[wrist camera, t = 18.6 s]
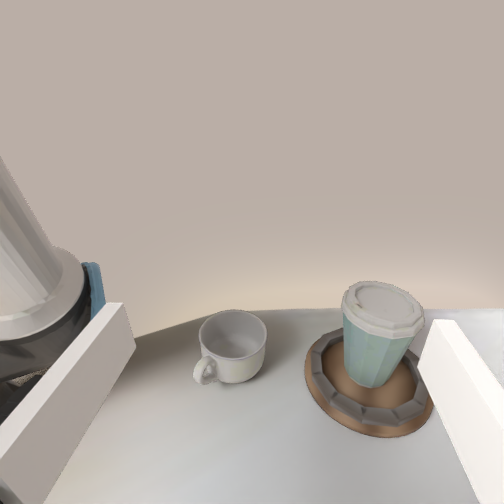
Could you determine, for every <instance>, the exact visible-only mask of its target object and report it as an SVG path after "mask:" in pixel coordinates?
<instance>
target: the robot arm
mask: <svg viewBox="0 0 504 504" xmlns="http://www.w3.org/2000/svg"><path fill="white" fill-rule="evenodd" d="M135 349H136V344H135V341H134V337H133V334H132V331H131V327H130V324H129V321H128V318H127V314H126V311H125V308H124V304H123V303H113V302H107V303H106V302H105V297H104V290H103V284H102V279H101V273H100V267H99V265H98V264H97V263H93V262H92V263H87V262H84V263H81V264H80V263H79V261H78V260H77V258H76V257H75V256H73V255H72V254H71V253H70V252H68V251H66V250H64V249H61V248H59V247H55V246H52V244H51V242H50V241H49V239H48V237H47V236H46V234H45V232H44V230H43V229H42V227H41V225H40V224H39V222H38V220H37V218H36V217H35V215H34V213H33V212H32V210H31V208H30V206H29V205H28V203H27V201H26V200H25V198H24V196H23V194H22V193H21V191H20V189H19V188H18V186H17V184H16V183H15V181H14V179H13V177H12V176H11V174H10V172H9V171H8V169H7V168H6V166H5V164H4V162H3V160H2V159H1V157H0V504H43V503H44V501H45V499H46V497H47V496H48V494H49V492H50V491H51V489H52V487H53V486H54V484H55V482H56V481H57V479H58V477H59V476H60V474H61V472H62V471H63V469H64V467H65V466H66V464H67V462H68V461H69V459H70V457H71V456H72V454H73V452H74V451H75V449H76V447H77V446H78V444H79V442H80V441H81V439H82V437H83V436H84V434H85V432H86V431H87V429H88V427H89V426H90V424H91V422H92V421H93V419H94V417H95V416H96V414H97V412H98V411H99V409H100V407H101V406H102V404H103V402H104V401H105V399H106V397H107V396H108V394H109V392H110V391H111V389H112V387H113V386H114V384H115V382H116V381H117V379H118V377H119V376H120V374H121V372H122V371H123V369H124V367H125V366H126V364H127V362H128V361H129V359H130V357H131V356H132V354H133V352H134V351H135ZM49 367H51V368H50V369H49V370H48V371H47V372H46V374H45V375H44V376H42V375H35V376H34V377H32V378H31V379H30V380H28V381H27V382H26V383H24V384H23V385H20V384H19V383H17V382H15V381H13V380H12V379H15V378H18V377H21V376H24V375H27V374H30V373H33V372H37V371H40V370H43V369H46V368H49ZM417 368H418V370H419V372H420V374H421V376H422V379H423V381H424V383H425V385H426V387H427V390H428V392H429V394H430V396H431V398H432V400H433V403H434V405H435V407H436V409H437V411H438V414H439V416H440V418H441V420H442V422H443V424H444V427H445V429H446V431H447V433H448V435H449V438H450V440H451V442H452V444H453V446H454V449H455V451H456V453H457V455H458V457H459V459H460V462H461V464H462V466H463V468H464V470H465V473H466V475H467V477H468V479H469V481H470V483H471V486H472V488H473V490H474V492H475V494H476V497H477V499H478V501H479V503H480V504H504V389H503V388H502V386H501V385H500V384H499V382H498V381H497V379H496V378H495V377H494V375H493V374H492V372H491V371H490V370H489V368H488V367H487V365H486V364H485V363H484V361H483V360H482V358H481V357H480V356H479V354H478V353H477V351H476V350H475V349H474V347H473V346H472V344H471V343H470V342H469V340H468V339H467V337H466V336H465V335H464V333H463V332H462V330H461V329H460V327H459V326H458V325H457V323H456V322H455V320H442V319H434V320H433V322H432V325H431V328H430V331H429V334H428V337H427V340H426V343H425V346H424V348H423V351H422V354H421V357H420V360H419V363H418V366H417Z"/></svg>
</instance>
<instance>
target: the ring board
mask: <svg viewBox="0 0 504 504" xmlns="http://www.w3.org/2000/svg"><path fill="white" fill-rule="evenodd" d="M419 360H420V359H419V358H418V357H417V356H416V355H414V354H413V353H412V352H411V351H410V350H409V349H407V350H406V352H405V354H404V355H403V357H402V358H401V360H400V362H399V363H398V365H397V367H396V368H395V370H394V372H393V373H392V375H391V376H390V378H389V379H388V380H387V381H386V382H385V383H384V385H382V386H381V387H376V388H367V387H364V386H360V385H358V384H357V383H356V382H354V381H353V380H352V379H350V377H349V375H348V373H347V371H346V369H345V367H344V332H343V328H341V329H338V330H335V331H332V332H330V333H327V334H324V335H323V336H322V337H321V338H320V339H319V340H317V341H316V342H315V343H314V344H313V345H312V346H311V348H310V350H309V351H308V354H307V356H306V361H305V379H306V383H307V386H308V388H309V391H310V393H311V394H312V396H313V398H314V399H315V401H316V402H317V403H318V405H319V406H320V407H321V408H322V409H323V410H324V411H325V412H326V413H327V414H328V415H329V416H330V417H332V418H333V419H334V420H336V421H337V422H339V423H340V424H342V425H344V426H345V427H347V428H349V429H351V430H354V431H356V432H359V433H361V434H365V435H368V436H373V437H379V438H395V437H401V436H405V435H408V434H410V433H413V432H415V431H416V430H418V429H419V428H421V427H422V426H423V425H424V424H425V422H426V421H427V419H428V418H429V416H430V414H431V411H432V408H433V405H434V403H433V400H432V398H431V396H430V394H429V392H428V390H427V387H426V385H425V383H424V381H423V379H422V376H421V374H420V372H419V370H418V368H417V366H418V363H419Z"/></svg>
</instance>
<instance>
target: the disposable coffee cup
mask: <svg viewBox="0 0 504 504" xmlns="http://www.w3.org/2000/svg"><path fill="white" fill-rule="evenodd" d="M341 309H342V311H343V332H344V367H345V369H346V371H347V373H348V375H349V377H350V379H352V380H353V381H354V382H356V383H357V384H358V385H360V386H364V387H367V388H376V387H381V386H382V385H384V383H385V382H386V381H387V380H388V379H389V378H390V376H391V375H392V373H393V372H394V370H395V368H396V367H397V365H398V363H399V362H400V360H401V358H402V357H403V355H404V354H405V352H406V350H407V349H408V347H409V345H410V344H411V342H412V340H413V339H414V337H415V336H416V334H417V333H418V332H419V331H420V330H421V329H422V328H423V327H424V321H425V319H424V313H423V307H422V306H421V305H420V303H418V301H416V300H415V299H414V298H413V297H412V296H411V295H410V294H409V293H408V292H406V291H404V290H402V289H400V288H398V287H396V286H394V285H391V284H386V283H382V282H377V281H365V282H364V281H363V282H358V283H356V284H354V285H352V286H350V287H349V290H347V291H346V292H345V293H344V296H343V300H342V305H341Z"/></svg>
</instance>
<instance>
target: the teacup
mask: <svg viewBox="0 0 504 504" xmlns="http://www.w3.org/2000/svg"><path fill="white" fill-rule="evenodd" d="M199 341H200V346H201V355H202V358H201V359H200V360H199V361H198V362H197V364H196V366H195V368H194V371H193V378H194V380H195V381H196V382H197V383H199V384H201V385H206V384H209V383H211V382H216V381H217V380H219V381H222V382H226V383H240V382H243V381H246V380H248V379H250V378H252V377H253V376H254V375H255V374H256V373H257V372H258V371H259V370H260V368H261V366H262V364H263V361H264V357H265V350H266V341H267V328H266V326H265V324H264V323H263V321H262V320H261V319H260V318H259V317H257V316H256V315H254V314H253V313H250V312H247V311H243V310H225V311H221V312H218V313H215V314H213V315H212V316H210V317H209V318H207V319H206V320H205V322H204V323H203V324H202V325H201V327H200V330H199ZM205 369H206V370H207V371H208V372H209V373H208V374H206V375H204V376H203V373H204V371H205Z"/></svg>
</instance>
